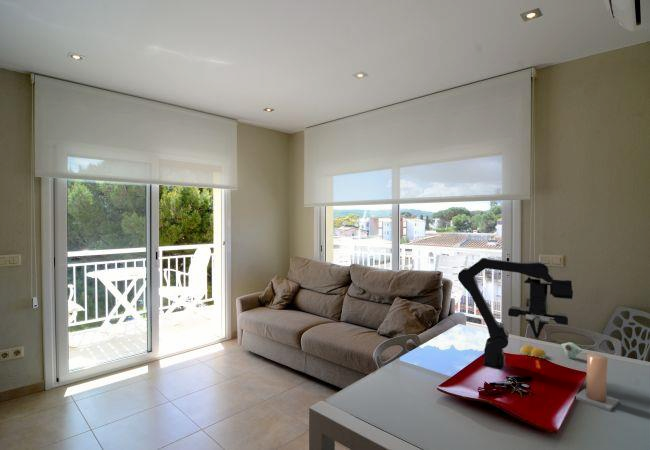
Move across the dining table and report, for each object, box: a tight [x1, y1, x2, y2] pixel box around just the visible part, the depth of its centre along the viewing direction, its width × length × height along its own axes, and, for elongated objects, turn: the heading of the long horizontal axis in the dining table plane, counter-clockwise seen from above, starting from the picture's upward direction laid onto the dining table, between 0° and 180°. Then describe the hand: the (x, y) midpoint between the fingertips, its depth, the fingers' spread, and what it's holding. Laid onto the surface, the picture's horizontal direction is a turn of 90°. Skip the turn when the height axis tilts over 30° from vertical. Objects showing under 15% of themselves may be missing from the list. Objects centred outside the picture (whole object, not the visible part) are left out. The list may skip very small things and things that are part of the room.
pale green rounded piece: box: [561, 341, 584, 359], centre depth 146 cm, size 8×4×7 cm, turn 27°
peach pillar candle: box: [585, 353, 608, 402], centre depth 111 cm, size 5×5×13 cm
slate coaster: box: [575, 388, 620, 412], centre depth 111 cm, size 9×9×1 cm
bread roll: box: [519, 344, 547, 360], centre depth 148 cm, size 8×9×4 cm
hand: (536, 338), depth 130 cm, fingers closed
